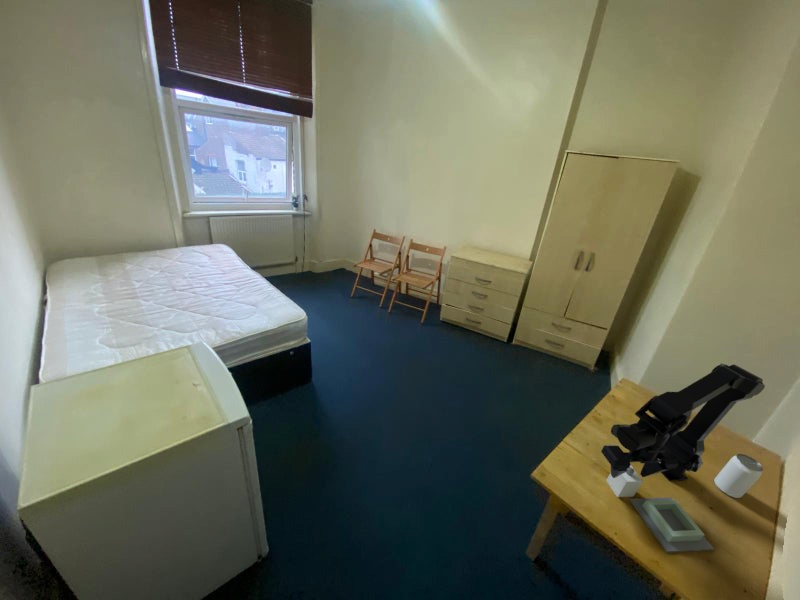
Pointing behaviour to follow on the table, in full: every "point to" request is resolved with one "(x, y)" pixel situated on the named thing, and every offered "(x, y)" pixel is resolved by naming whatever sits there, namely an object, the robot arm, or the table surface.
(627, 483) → the plug
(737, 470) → the can
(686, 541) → the charging dock
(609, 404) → the table surface
